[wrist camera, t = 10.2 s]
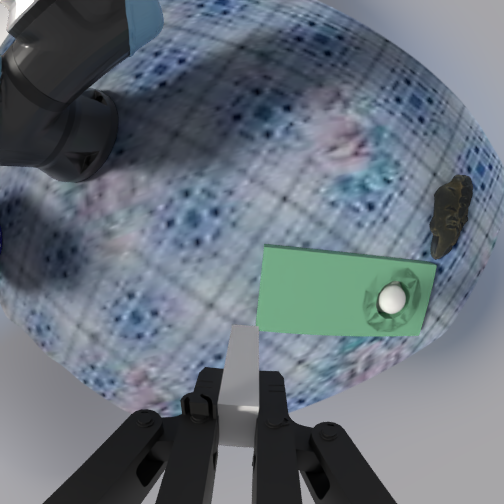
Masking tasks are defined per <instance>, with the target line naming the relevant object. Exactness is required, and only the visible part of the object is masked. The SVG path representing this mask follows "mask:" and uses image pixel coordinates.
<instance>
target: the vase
mask: <svg viewBox="0 0 504 504" xmlns="http://www.w3.org/2000/svg"><path fill="white" fill-rule="evenodd" d="M1 250H2V232H1V226H0V254H1Z"/></svg>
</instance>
